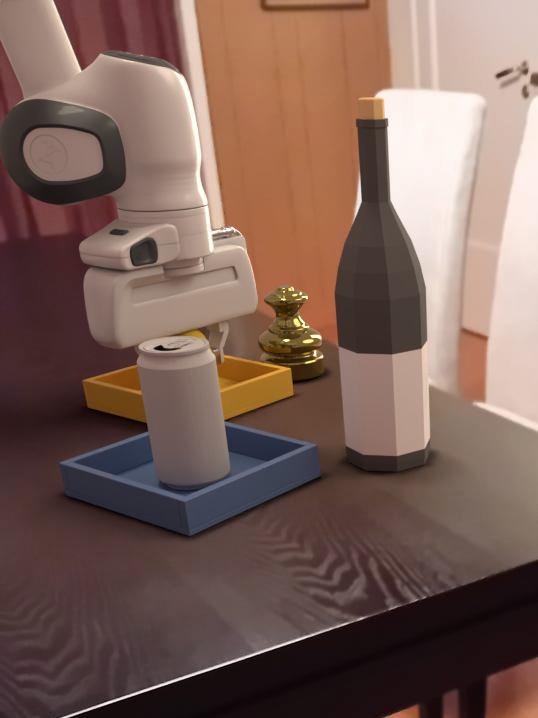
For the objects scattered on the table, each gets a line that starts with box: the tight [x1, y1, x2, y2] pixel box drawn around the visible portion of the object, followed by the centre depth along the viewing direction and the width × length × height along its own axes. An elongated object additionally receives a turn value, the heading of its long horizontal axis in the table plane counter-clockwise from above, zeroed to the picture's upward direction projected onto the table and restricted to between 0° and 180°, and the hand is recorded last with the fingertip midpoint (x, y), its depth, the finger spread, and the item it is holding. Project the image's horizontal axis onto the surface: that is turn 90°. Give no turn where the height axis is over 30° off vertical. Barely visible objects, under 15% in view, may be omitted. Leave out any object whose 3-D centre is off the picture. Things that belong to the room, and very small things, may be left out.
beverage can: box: [136, 336, 230, 490], centre depth 86 cm, size 6×6×12 cm
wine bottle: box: [334, 97, 431, 473], centre depth 88 cm, size 8×8×30 cm
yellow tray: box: [81, 354, 294, 424], centre depth 110 cm, size 16×16×3 cm
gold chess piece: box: [257, 284, 325, 382], centre depth 117 cm, size 7×7×10 cm
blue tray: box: [58, 421, 321, 537], centre depth 89 cm, size 16×16×3 cm
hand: (188, 372), depth 109 cm, fingers open, 6 cm apart
